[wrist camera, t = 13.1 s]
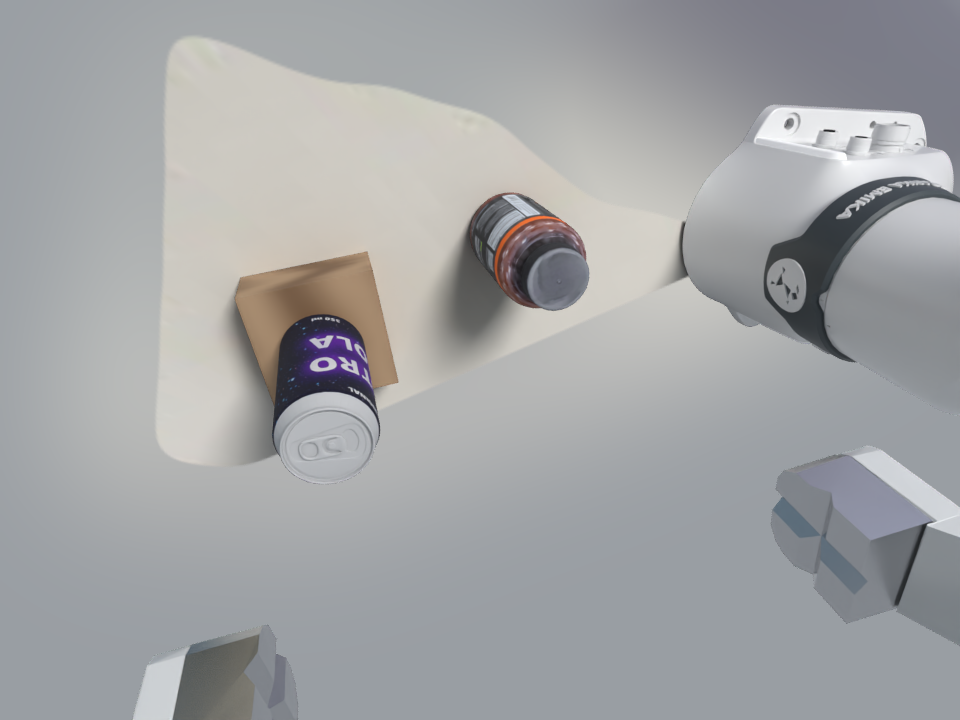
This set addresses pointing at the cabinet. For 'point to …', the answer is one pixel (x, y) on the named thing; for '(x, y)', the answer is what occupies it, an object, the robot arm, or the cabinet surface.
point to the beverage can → (324, 401)
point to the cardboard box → (315, 310)
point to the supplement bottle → (530, 252)
